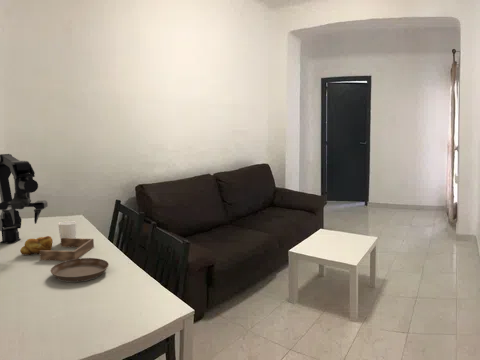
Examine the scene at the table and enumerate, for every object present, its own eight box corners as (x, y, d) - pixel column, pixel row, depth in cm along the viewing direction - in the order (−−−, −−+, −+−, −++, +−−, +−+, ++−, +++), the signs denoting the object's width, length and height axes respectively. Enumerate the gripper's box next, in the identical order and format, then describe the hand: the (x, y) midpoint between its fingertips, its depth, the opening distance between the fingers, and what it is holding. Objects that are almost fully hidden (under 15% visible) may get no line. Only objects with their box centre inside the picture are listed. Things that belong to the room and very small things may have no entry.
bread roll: (20, 258, 166) (18, 240, 165) (21, 251, 175) (19, 234, 174) (53, 254, 172) (52, 236, 171) (52, 247, 181) (51, 231, 179)
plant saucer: (91, 261, 164) (90, 253, 164) (119, 273, 151) (119, 265, 151) (41, 275, 148) (40, 267, 148) (68, 290, 135) (67, 281, 135)
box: (40, 260, 164) (39, 251, 163) (62, 246, 183) (61, 238, 182) (75, 261, 163) (74, 251, 163) (93, 247, 182) (93, 238, 182)
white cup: (72, 245, 184) (71, 225, 183) (56, 245, 184) (55, 224, 183) (80, 240, 192) (79, 220, 190) (64, 240, 192) (63, 220, 191)
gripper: (-9, 193, 163) (-6, 229, 165) (39, 192, 167) (41, 227, 169) (2, 188, 174) (4, 222, 176) (46, 188, 177) (48, 221, 180)
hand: (24, 223), depth 175 cm, fingers open, 9 cm apart
